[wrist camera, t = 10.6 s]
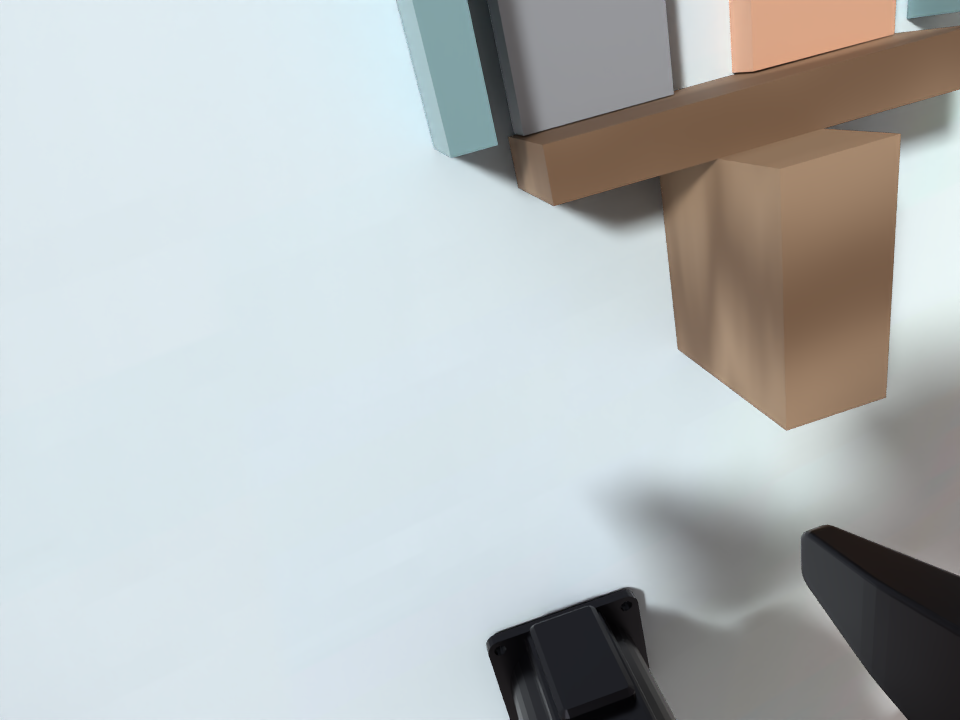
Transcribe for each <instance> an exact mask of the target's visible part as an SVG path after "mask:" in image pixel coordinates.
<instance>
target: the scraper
mask: <svg viewBox="0 0 960 720" xmlns="http://www.w3.org/2000/svg"><path fill="white" fill-rule="evenodd" d="M959 89H960V26H953V27H945V28H936V29H927V30H919V31H910V32H901V33H894V34H893V35H889V36H886V37H882V38H878V39H874V40H870V41H867V42H863V43H859V44H855V45H852V46H848V47H844V48H840V49H836V50H833V51H829V52H825V53H821V54H817V55H814V56H810V57H806V58H802V59H799V60H795V61H791V62H787V63H783V64H780V65H776V66H772V67H768V68H765V69H761V70H757V71H753V72H741V73H738V74H734V75H730V76H727V77H723V78H720V79H716V80H712V81H709V82H705V83H701V84H698V85H694V86H690V87H687V88H683V89H680V90H676V91H674V94H673V95H669V96H666V97H662V98H658V99H655V100H651V101H648V102H644V103H640V104H637V105H633V106H630V107H626V108H622V109H619V110H615V111H612V112H608V113H604V114H601V115H597V116H594V117H590V118H586V119H583V120H579V121H575V122H572V123H568V124H565V125H561V126H557V127H554V128H550V129H547V130H543V131H539V132H536V133H532V134H529V135H525V136H522V135H518V134H516V135H512V136H509V137H508V140H509V145H510V150H511V154H512V159H513V164H514V169H515V174H516V179H517V184H518V188H520V189H522V190H523V191H525V192H527V193H529V194H531V195H533V196H535V197H537V198H539V199H541V200H543V201H545V202H547V203H549V204H551V205H553V206H556V205H559V204H563V203H566V202H570V201H573V200H577V199H580V198H584V197H587V196H591V195H594V194H598V193H601V192H605V191H608V190H612V189H615V188H618V187H622V186H625V185H629V184H632V183H636V182H639V181H643V180H646V179H650V178H653V177H657V176H659V177H660V187H661V196H662V205H663V215H664V224H665V233H666V243H667V252H668V262H669V271H670V280H671V290H672V299H673V308H674V318H675V327H676V336H677V346H678V350H680V351H681V352H682V353H684V354H685V355H686V356H688V357H689V358H690V359H692V360H693V361H694V362H696V363H697V364H698V365H700V366H701V367H702V368H704V369H705V370H706V371H708V372H709V373H710V374H712V375H713V376H714V377H716V378H717V379H718V380H720V381H721V382H722V383H724V384H725V385H726V386H728V387H729V388H730V389H732V390H733V391H734V392H736V393H737V394H738V395H740V396H741V397H742V398H744V399H745V400H746V401H748V402H749V403H750V404H752V405H753V406H754V407H756V408H757V409H758V410H760V411H761V412H762V413H764V414H765V415H766V416H768V417H769V418H770V419H772V420H773V421H774V422H776V423H777V424H778V425H780V426H781V427H782V428H784V429H785V430H786V431H787V430H790V429H793V428H796V427H799V426H802V425H805V424H808V423H811V422H814V421H817V420H820V419H823V418H826V417H829V416H832V415H835V414H838V413H841V412H844V411H847V410H850V409H853V408H856V407H859V406H862V405H865V404H868V403H871V402H874V401H877V400H880V399H883V398H886V388H887V370H888V352H889V335H890V317H891V299H892V281H893V264H894V246H895V228H896V211H897V193H898V175H899V157H900V140H901V134H897V133H882V132H867V131H851V130H836V129H824V128H827V127H831V126H834V125H838V124H841V123H845V122H848V121H851V120H855V119H858V118H862V117H865V116H869V115H872V114H876V113H879V112H883V111H886V110H890V109H893V108H897V107H900V106H904V105H907V104H911V103H914V102H918V101H921V100H925V99H928V98H931V97H935V96H938V95H942V94H945V93H949V92H952V91H956V90H959Z"/></svg>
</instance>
